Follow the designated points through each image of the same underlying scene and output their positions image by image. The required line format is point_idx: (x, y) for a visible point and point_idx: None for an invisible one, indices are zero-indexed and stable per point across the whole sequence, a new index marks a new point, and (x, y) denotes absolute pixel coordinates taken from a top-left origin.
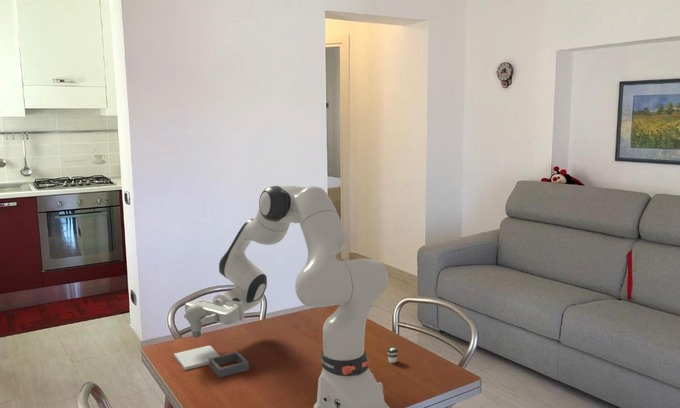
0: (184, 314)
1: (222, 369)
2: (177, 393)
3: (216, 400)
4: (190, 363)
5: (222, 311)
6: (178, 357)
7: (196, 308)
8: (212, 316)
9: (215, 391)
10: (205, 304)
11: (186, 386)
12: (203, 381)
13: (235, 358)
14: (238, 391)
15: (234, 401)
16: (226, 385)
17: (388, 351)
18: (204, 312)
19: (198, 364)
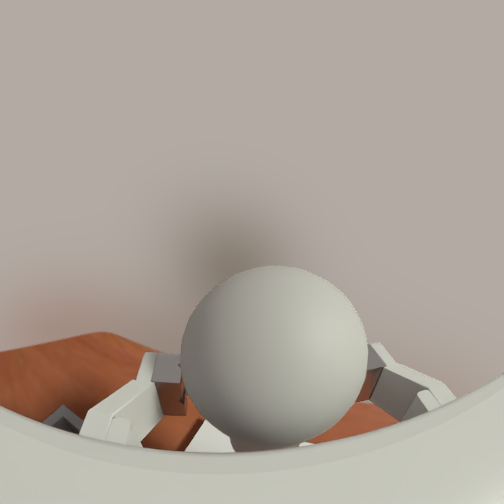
0: (369, 344)
1: (56, 411)
2: (133, 345)
3: (44, 347)
4: (214, 440)
5: (10, 448)
6: (300, 445)
7: (226, 279)
8: (102, 407)
9: (56, 369)
10: (463, 501)
11: (133, 368)
12: (106, 396)
13: None
14: (12, 378)
15: (13, 351)
16: (42, 394)
17: None
18: (188, 372)
19: (184, 451)
